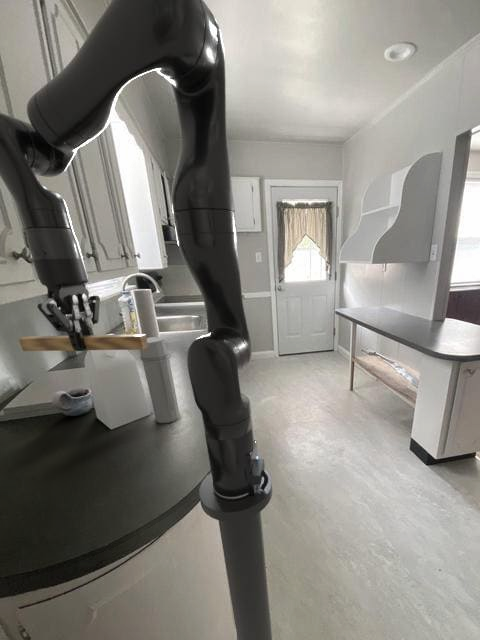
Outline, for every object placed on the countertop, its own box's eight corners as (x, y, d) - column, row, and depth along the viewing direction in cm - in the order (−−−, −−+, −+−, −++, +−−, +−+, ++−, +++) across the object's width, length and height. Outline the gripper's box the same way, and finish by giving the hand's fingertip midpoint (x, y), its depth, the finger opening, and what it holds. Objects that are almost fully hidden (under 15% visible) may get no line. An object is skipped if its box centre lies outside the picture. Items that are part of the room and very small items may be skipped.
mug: (101, 405, 104) (93, 378, 100) (84, 423, 93) (74, 393, 89) (70, 408, 103) (61, 381, 99) (50, 426, 92) (38, 396, 88)
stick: (148, 346, 62) (145, 334, 61) (142, 349, 60) (140, 336, 59) (32, 348, 64) (27, 336, 63) (22, 351, 62) (18, 338, 61)
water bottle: (150, 419, 94) (132, 340, 84) (175, 410, 99) (160, 335, 89) (162, 430, 88) (144, 346, 78) (188, 420, 92) (173, 340, 83)
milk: (135, 404, 104) (116, 329, 94) (150, 414, 97) (132, 334, 87) (97, 417, 96) (72, 337, 86) (111, 429, 89) (85, 343, 79)
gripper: (45, 256, 49) (78, 358, 55) (102, 256, 61) (122, 340, 68) (3, 258, 49) (40, 359, 56) (67, 258, 62) (91, 340, 69)
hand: (85, 348), depth 62 cm, fingers closed on stick, 2 cm apart
